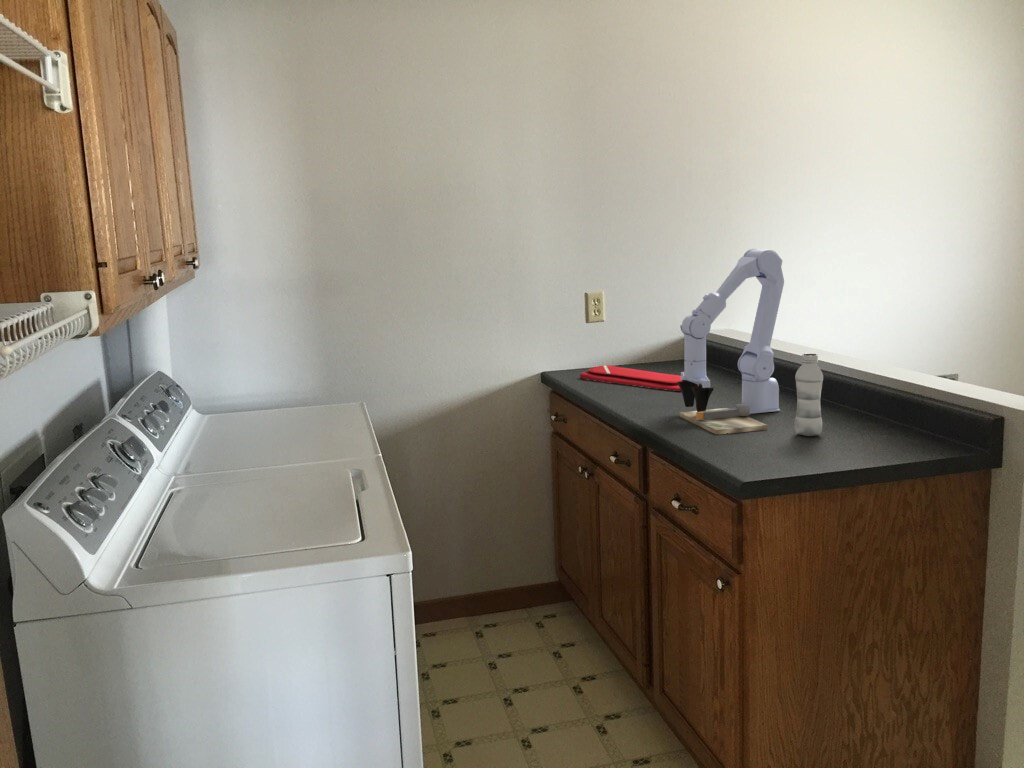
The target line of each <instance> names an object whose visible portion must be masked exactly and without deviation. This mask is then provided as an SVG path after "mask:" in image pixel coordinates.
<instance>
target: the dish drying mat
mask: <svg viewBox="0 0 1024 768" xmlns="http://www.w3.org/2000/svg"><path fill="white" fill-rule="evenodd" d="M579 377H580V378H582V379H581V380H583V379H589V380H588V381H590V380H596V381H595V382H597V381H604V382H611V383H619V384H627V385H636V386H643V387H650V388H658V389H667V390H675V391H681V389H680V387H679V385H678V381H682V380H681V379H680V377H681V375H677V374H669V373H663V372H662V373H661V372H655V371H648V370H641V369H636V368H635V369H634V368H627V367H620V366H614V365H610V364H609V365H608V364H607V365H606V364H604V365H598V366H595V367H590V368H588V370H587V371H583V372H581V373H580V374H579ZM580 378H579V379H580ZM604 382H603V383H604ZM611 383H610V384H611ZM619 384H618V385H619ZM627 385H626V386H627ZM697 386H698V385H697ZM650 388H649V389H650ZM658 389H657V390H658Z"/></svg>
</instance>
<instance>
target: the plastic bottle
mask: <svg viewBox="0 0 1024 768" xmlns="http://www.w3.org/2000/svg"><path fill="white" fill-rule="evenodd" d="M818 359H819V354H817V353H802V354H801V366H800V367H799V368H798V369H797V371H796V372H795V376H794V379H795V386H796V396H797V397H796V399H797V400H796V402H797V403H796V415H795V419H794V424H793V425H794V431H795V432H796V434H797V435H801V436H806V437H814V436H819V435H820V434H821V433H822V430H823V425H824V424H823V419H822V408H821V397H822V396H821V395H822V389H823V381H824V373H823V372H822V370H821V368H820V367H819V366H818V364H817V363H819V360H818Z"/></svg>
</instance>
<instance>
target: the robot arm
mask: <svg viewBox="0 0 1024 768" xmlns="http://www.w3.org/2000/svg"><path fill="white" fill-rule="evenodd" d="M782 265H783V259H782V258H781V257H780V255H779V253H777V252H776V251H775V250H773V249H757V248H751V249H748V250H747V251H746V252H744V254H743V256H741V257H740V258H739V259H738V260H737V263H736V265H735V266H734V268H733V269H732V271H730V273H729V274H728V276H727V277H726V278H725V280H723V282H722V284H721V285H720V286H719V288H718V289H717V290H716V291H715V292H709V293H708V294H704V295H703V297H702V301H701V302H700V303H699V305H698V306H697V307H696V308H695V309H692V310H691V314H690V315H687V316H685V317H684V319H683V320H682V324H681V325H680V326H679V327H680V331H681V333H682V334H683V336H684V338H683V339H684V345H683V347H684V348H683V349H684V350H683V351H684V352H683V353H684V357H683V358H684V359H683V360H684V361H683V363H684V371H680V376H681V377H680V379H681V380H682V381H678V385H679V387H680V389H681V392H680V393H681V394H682V397H683V398H682V399H683V403H684V406H685V407H686V408H692V407H694V405H695V406H696V407H695V408H696V411H697V412H701V411H706V410H707V407H708V403H709V399H710V398H711V394H712V393H713V391H714V389H715V388H714V387H715V386H711V379H709V377H708V376H707V335H709V334H710V331H711V327H712V324H713V323H714V321H716V319H717V318H718V317H719V316H720V314H721V313H722V312H723V311H724V310H725V309H726V307H727V299H728V298H730V297H731V296H732V294H733V293H735V291H736V290H737V289H738V288H740V286H741V285H742V283H744V282H745V281H746V279H750V278H751V279H752V278H754V277H755V278H756V279H757V280H758V282H759V283H760V285H761V291H760V294H759V300H758V303H757V304H758V305H757V309H756V314H755V317H754V323H753V327H752V330H751V331H752V332H751V335H750V341H749V342H748V343H747V344H746V345H745V347H744V348H743V352H742V354H741V355H740V357H739V358H738V360H737V368H738V371H740V373H741V404H742V403H743V404H750V415H753V414H760V413H761V414H762V413H770V412H780V411H781V409H780V407H779V406H780V404H779V401H780V399H779V398H780V394H779V393H780V388H779V387H780V386H779V383H778V381H777V379H776V378H774V377H771V376H772V375H773V373H774V371H775V364H774V357H775V356H774V355H775V353H774V352H773V351H774V350H773V349H772V347H771V344H772V340H773V334H774V329H775V325H776V321H777V316H778V314H779V313H778V312H779V308H780V307H779V306H780V303H781V298H782V293H783V289H784V285H785V278H784V274H783V269H782ZM697 385H699V386H697Z"/></svg>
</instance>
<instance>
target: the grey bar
mask: <svg viewBox="0 0 1024 768" xmlns="http://www.w3.org/2000/svg"><path fill="white" fill-rule="evenodd" d="M720 409H721V408H720ZM709 410H710V409H709ZM735 416H747V417H749V416H751V414H750V404H743V403H742V402H741V403H736V404H735V408H733V407H732V408H728V409H721V410H710V411H701V412H696V419H698V420H701V419H714V418H725V417H735Z"/></svg>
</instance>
